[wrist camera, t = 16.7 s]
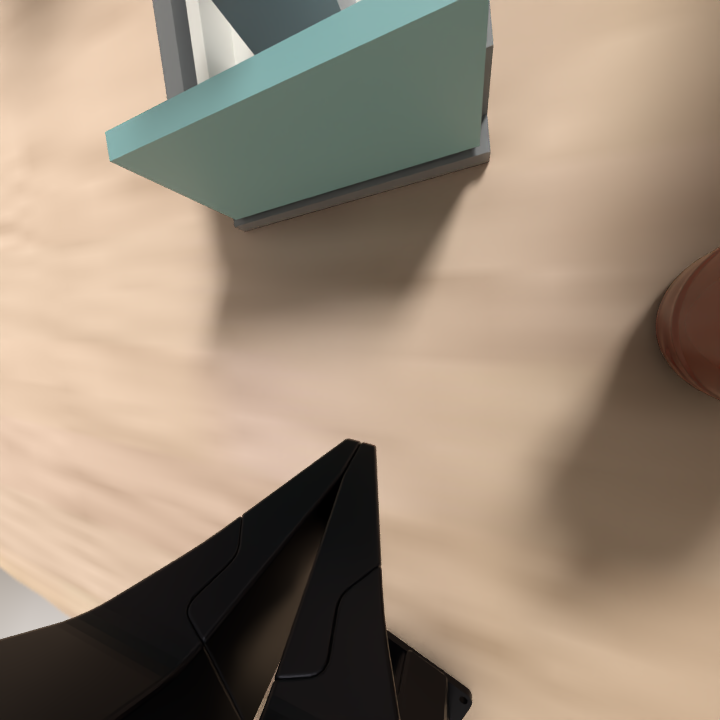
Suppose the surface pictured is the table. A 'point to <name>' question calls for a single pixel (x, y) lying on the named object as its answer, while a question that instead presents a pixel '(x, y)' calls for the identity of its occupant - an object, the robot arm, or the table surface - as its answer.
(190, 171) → the white drawer
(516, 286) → the table surface
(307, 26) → the block
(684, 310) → the mug
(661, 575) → the table surface
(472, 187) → the table surface
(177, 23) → the grey storage bin
